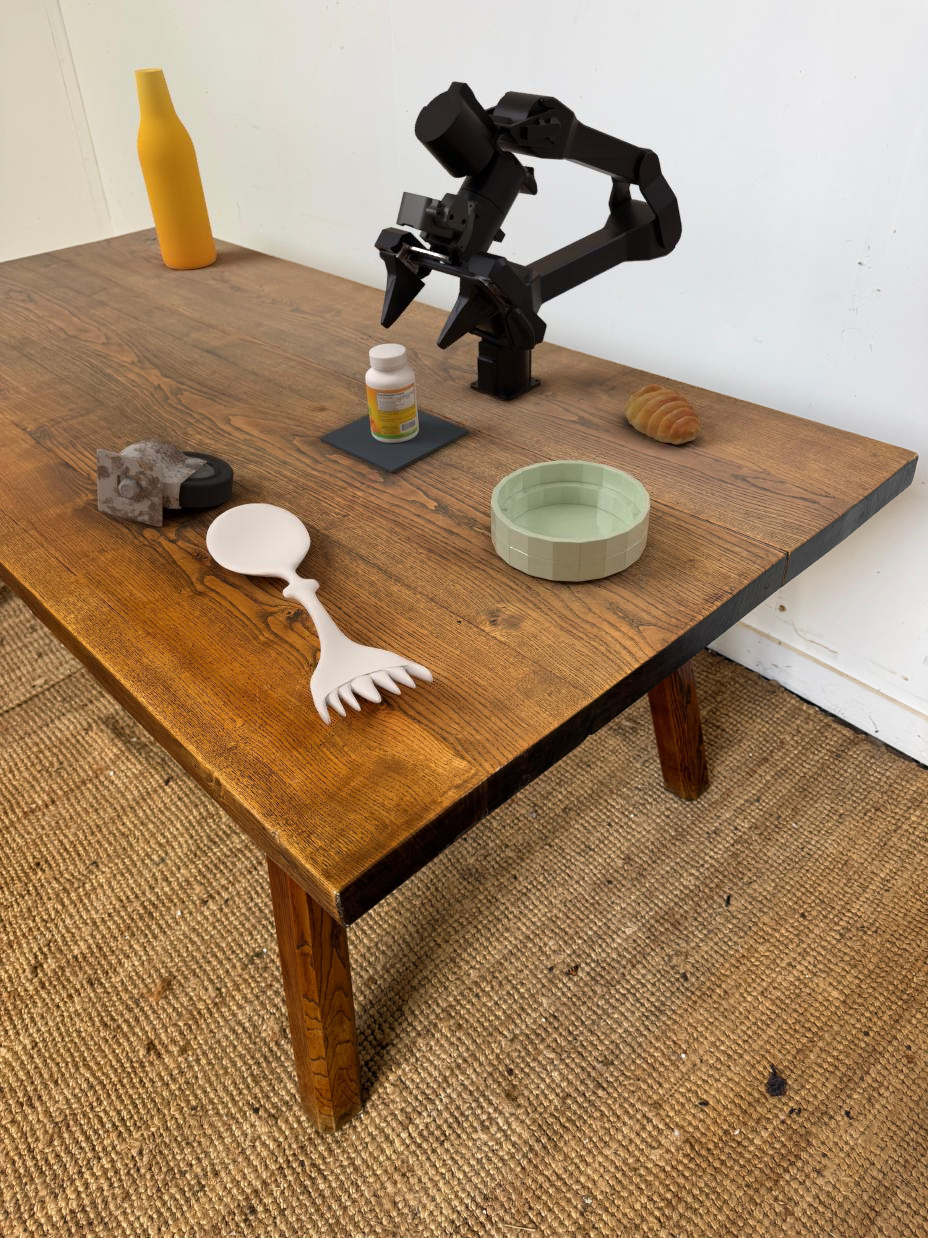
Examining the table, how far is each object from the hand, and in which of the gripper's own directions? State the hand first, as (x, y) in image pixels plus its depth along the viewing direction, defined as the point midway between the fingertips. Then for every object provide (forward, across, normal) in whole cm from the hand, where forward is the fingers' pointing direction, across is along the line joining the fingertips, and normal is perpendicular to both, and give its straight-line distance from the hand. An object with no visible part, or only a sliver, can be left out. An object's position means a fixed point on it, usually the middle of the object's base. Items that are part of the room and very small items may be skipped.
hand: (411, 336), depth 95 cm
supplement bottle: (+10, 0, +5) cm, 11 cm away
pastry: (-6, +21, +21) cm, 30 cm away
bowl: (+12, +28, +3) cm, 31 cm away
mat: (+10, 0, +5) cm, 11 cm away
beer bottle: (-4, -78, +19) cm, 80 cm away
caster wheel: (+27, -6, -12) cm, 30 cm away
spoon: (+29, +19, -14) cm, 37 cm away
